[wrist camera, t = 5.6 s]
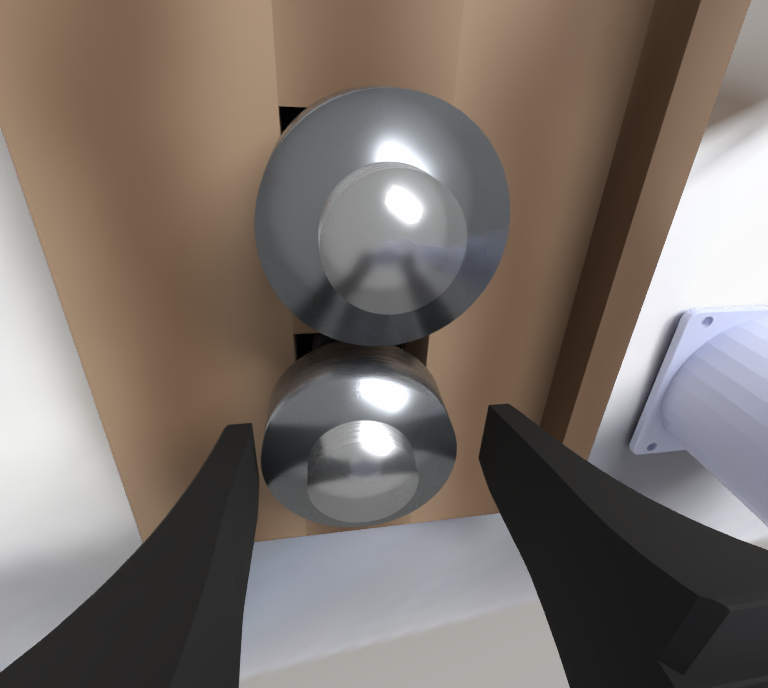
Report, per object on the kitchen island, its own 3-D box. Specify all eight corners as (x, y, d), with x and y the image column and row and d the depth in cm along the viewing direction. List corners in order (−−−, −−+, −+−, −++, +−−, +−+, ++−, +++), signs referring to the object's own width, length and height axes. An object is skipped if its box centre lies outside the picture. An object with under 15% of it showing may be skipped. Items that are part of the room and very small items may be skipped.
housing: (648, -89, 12) (810, -166, 8) (513, 458, 22) (559, 537, 18) (-20, -173, 10) (-228, -341, 6) (166, 492, 20) (134, 593, 16)
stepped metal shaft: (427, 289, 17) (487, 406, 11) (404, 402, 19) (441, 550, 13) (282, 275, 16) (257, 395, 10) (277, 396, 18) (255, 552, 12)
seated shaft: (440, 88, 14) (555, 94, 8) (425, 255, 16) (502, 358, 10) (261, 80, 13) (233, 79, 7) (276, 258, 15) (264, 371, 9)
